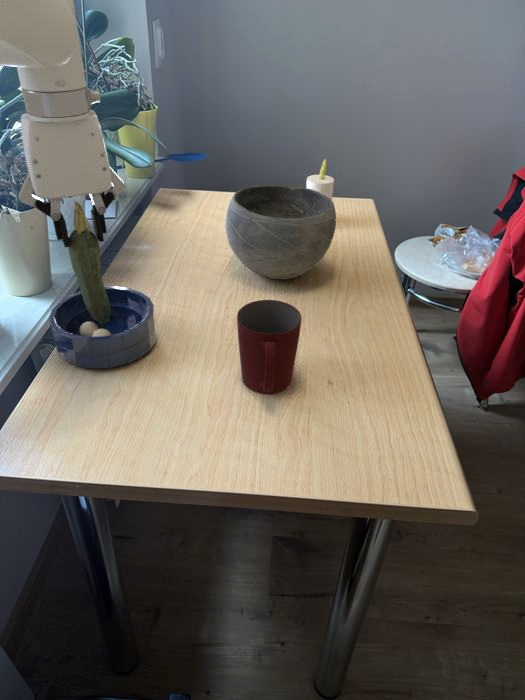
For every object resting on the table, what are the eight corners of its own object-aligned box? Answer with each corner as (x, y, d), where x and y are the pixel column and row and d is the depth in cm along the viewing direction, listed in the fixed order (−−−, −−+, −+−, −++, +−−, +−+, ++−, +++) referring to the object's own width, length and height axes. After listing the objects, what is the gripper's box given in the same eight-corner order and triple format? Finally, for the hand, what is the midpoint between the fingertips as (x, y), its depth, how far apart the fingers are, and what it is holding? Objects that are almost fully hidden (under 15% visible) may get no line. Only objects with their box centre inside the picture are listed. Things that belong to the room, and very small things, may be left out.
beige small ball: (105, 330, 86) (97, 344, 84) (90, 330, 87) (82, 344, 85) (96, 317, 84) (87, 331, 82) (81, 317, 85) (72, 331, 83)
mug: (299, 413, 74) (305, 348, 67) (236, 412, 73) (235, 347, 67) (294, 360, 83) (299, 300, 77) (237, 360, 83) (237, 299, 76)
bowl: (342, 293, 101) (352, 218, 92) (232, 299, 98) (231, 222, 89) (316, 246, 118) (322, 178, 109) (221, 250, 115) (220, 181, 106)
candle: (298, 219, 130) (302, 157, 121) (320, 215, 132) (326, 153, 124) (311, 229, 125) (317, 164, 117) (334, 224, 128) (341, 161, 119)
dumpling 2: (103, 337, 80) (103, 322, 82) (87, 345, 81) (87, 329, 83) (115, 346, 83) (115, 331, 84) (100, 353, 84) (100, 338, 85)
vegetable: (109, 333, 83) (85, 210, 71) (82, 332, 83) (53, 210, 71) (116, 317, 87) (94, 198, 75) (90, 317, 87) (64, 198, 75)
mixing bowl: (65, 382, 77) (57, 349, 74) (50, 328, 89) (43, 297, 85) (168, 357, 83) (165, 325, 80) (142, 309, 94) (138, 279, 91)
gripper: (118, 93, 71) (134, 222, 82) (-19, 101, 65) (18, 239, 76) (132, 105, 66) (147, 241, 76) (-16, 114, 60) (23, 261, 70)
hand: (82, 239), depth 76 cm, fingers closed on vegetable, 4 cm apart
